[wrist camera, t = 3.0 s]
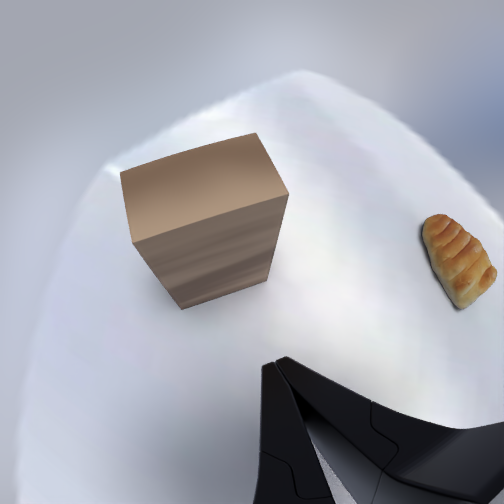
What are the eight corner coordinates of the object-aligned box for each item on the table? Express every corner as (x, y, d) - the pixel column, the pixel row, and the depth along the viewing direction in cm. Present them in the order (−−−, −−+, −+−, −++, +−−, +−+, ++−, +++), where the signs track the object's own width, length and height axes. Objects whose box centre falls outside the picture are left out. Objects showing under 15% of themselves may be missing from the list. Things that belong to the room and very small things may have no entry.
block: (266, 280, 24) (289, 193, 13) (181, 309, 23) (132, 243, 12) (248, 237, 26) (255, 132, 15) (168, 264, 24) (119, 172, 13)
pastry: (402, 238, 27) (422, 219, 23) (438, 210, 28) (457, 191, 25) (456, 317, 24) (482, 306, 20) (487, 280, 25) (509, 266, 22)
